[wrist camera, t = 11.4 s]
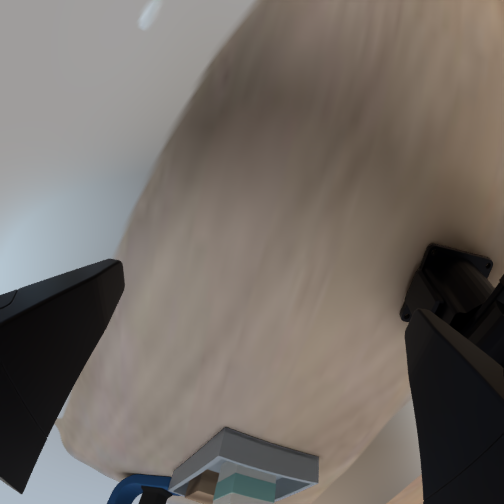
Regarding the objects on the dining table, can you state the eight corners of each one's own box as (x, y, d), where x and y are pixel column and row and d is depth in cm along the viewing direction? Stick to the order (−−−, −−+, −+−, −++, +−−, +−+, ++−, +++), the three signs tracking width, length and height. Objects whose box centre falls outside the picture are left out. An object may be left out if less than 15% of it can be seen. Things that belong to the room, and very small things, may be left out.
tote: (225, 426, 31) (218, 455, 28) (318, 456, 33) (318, 483, 29) (173, 470, 40) (167, 490, 37) (245, 494, 42) (242, 513, 38)
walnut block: (203, 467, 37) (198, 490, 33) (253, 483, 38) (249, 505, 34) (190, 477, 39) (184, 497, 36) (235, 491, 40) (231, 511, 37)
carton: (239, 451, 33) (223, 536, 22) (278, 463, 34) (269, 545, 23) (220, 464, 35) (203, 539, 25) (256, 475, 36) (245, 548, 25)
